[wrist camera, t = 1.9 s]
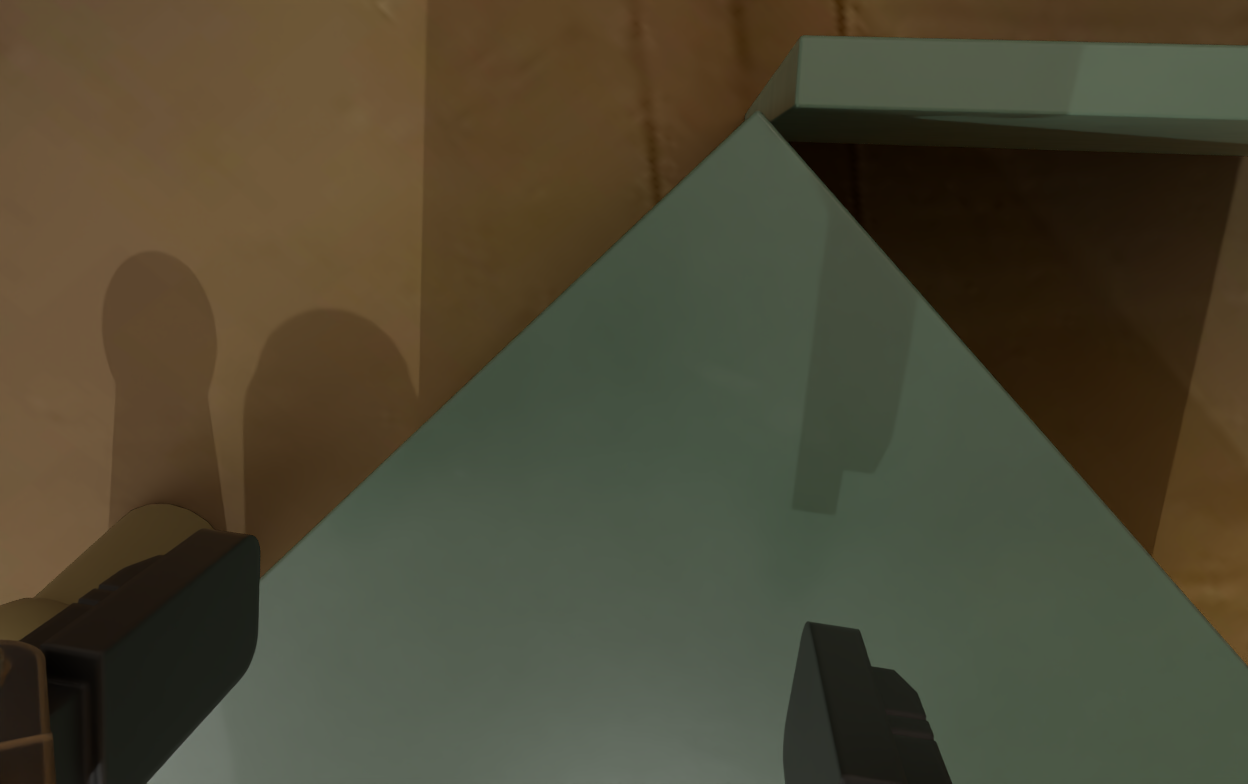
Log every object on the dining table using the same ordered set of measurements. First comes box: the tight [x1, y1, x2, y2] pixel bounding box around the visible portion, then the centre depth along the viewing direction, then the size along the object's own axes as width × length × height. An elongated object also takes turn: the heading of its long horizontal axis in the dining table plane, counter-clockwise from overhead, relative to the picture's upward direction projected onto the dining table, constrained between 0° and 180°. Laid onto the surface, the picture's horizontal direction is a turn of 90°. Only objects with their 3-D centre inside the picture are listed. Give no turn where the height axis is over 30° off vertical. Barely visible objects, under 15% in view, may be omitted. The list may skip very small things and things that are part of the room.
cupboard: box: [147, 110, 1248, 784], centre depth 29 cm, size 18×26×24 cm
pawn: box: [0, 504, 214, 641], centre depth 38 cm, size 6×6×11 cm
